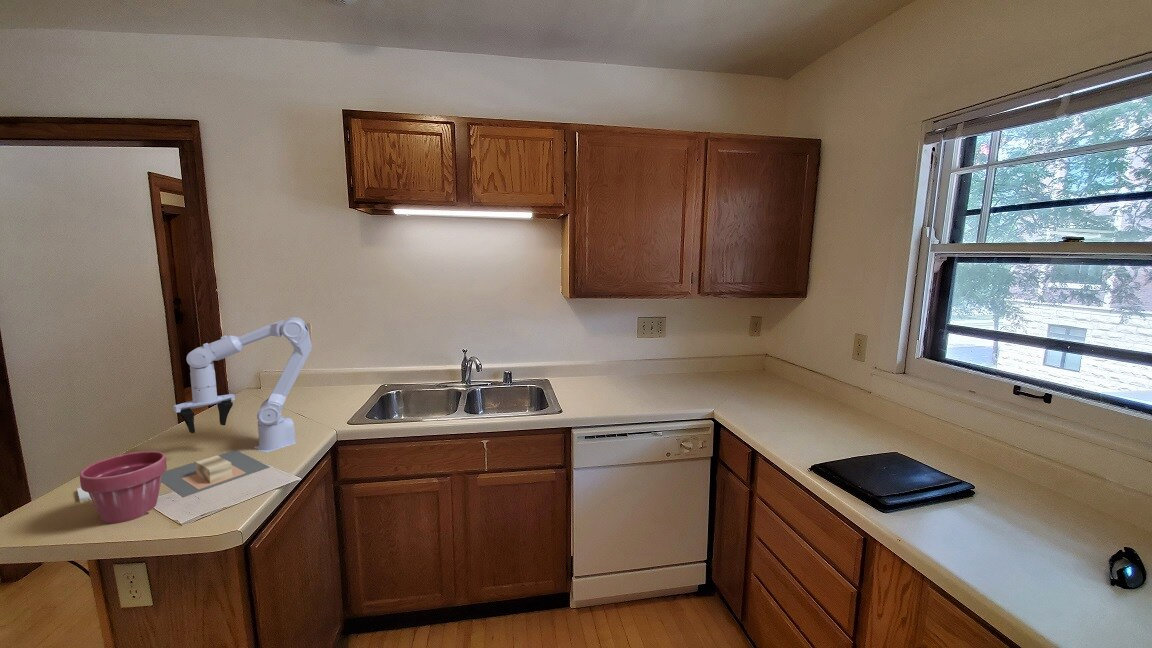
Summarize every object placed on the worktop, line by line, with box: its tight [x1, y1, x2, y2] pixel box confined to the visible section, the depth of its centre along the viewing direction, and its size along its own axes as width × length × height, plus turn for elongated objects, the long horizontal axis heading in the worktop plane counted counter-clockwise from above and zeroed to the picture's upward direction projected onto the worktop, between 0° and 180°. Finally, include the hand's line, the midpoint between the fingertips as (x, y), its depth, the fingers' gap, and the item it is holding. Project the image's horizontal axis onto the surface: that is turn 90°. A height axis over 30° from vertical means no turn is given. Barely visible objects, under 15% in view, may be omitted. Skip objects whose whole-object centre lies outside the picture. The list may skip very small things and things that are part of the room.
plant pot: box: [79, 450, 168, 524], centre depth 102 cm, size 14×14×13 cm
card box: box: [194, 454, 232, 484], centre depth 120 cm, size 9×5×4 cm, turn 60°
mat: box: [161, 449, 271, 498], centre depth 123 cm, size 20×22×1 cm
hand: (207, 428), depth 132 cm, fingers open, 7 cm apart
